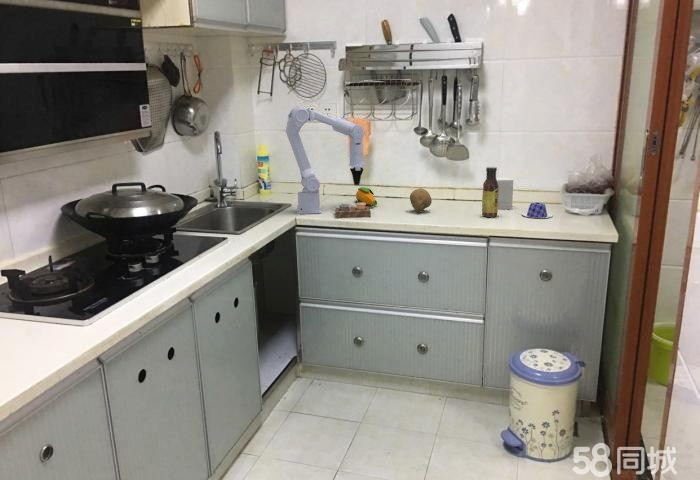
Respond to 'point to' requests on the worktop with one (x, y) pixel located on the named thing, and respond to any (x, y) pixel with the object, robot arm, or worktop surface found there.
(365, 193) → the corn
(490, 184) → the sauce bottle
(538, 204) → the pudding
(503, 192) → the supplement box
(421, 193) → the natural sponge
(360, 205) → the terracotta plug
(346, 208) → the grey plug
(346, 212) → the socket board
